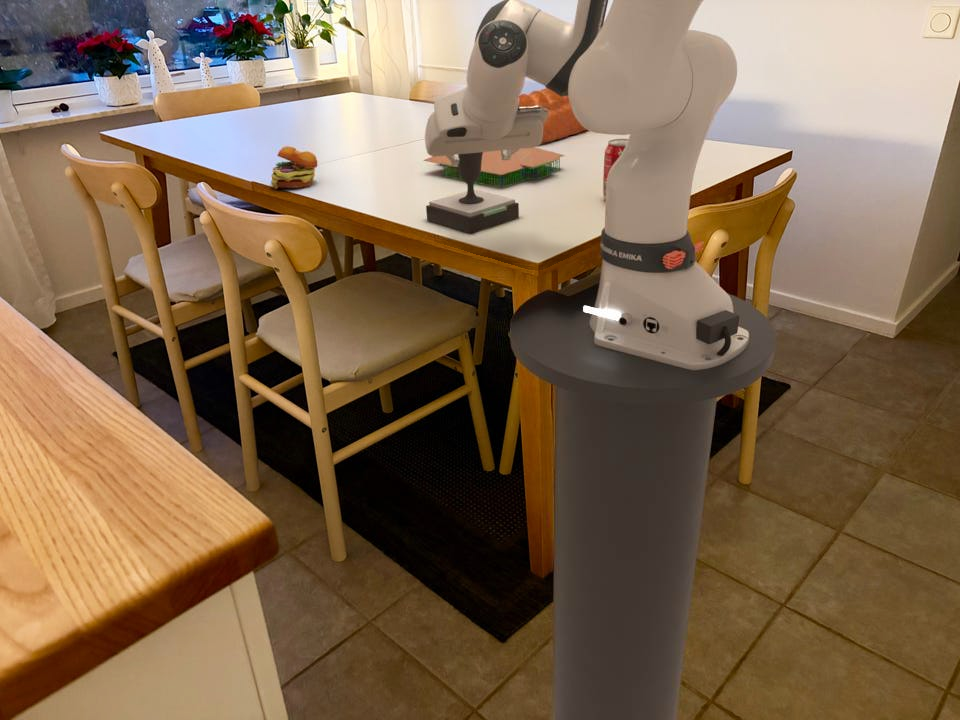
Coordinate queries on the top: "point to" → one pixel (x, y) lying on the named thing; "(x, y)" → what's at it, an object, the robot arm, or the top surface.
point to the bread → (553, 114)
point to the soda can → (612, 157)
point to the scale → (472, 211)
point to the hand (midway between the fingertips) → (479, 159)
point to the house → (509, 163)
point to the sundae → (470, 175)
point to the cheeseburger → (294, 169)
